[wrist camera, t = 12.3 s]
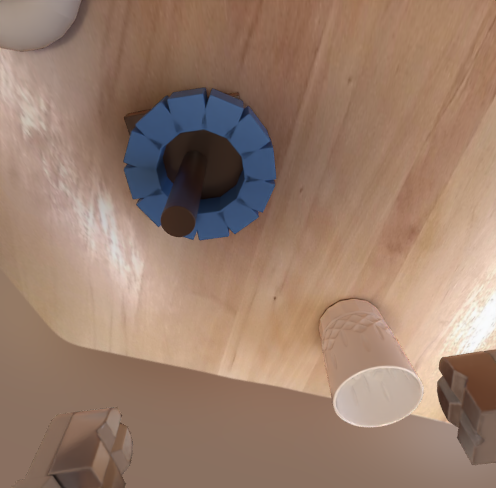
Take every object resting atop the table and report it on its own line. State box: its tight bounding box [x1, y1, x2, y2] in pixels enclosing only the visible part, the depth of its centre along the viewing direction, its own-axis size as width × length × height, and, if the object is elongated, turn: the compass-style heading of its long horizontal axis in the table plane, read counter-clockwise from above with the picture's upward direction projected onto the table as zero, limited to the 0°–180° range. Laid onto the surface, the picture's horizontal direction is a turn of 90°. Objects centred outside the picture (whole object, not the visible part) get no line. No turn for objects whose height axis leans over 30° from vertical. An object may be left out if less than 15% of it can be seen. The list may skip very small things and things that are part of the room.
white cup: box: [319, 299, 424, 427], centre depth 39 cm, size 8×8×10 cm
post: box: [124, 92, 243, 237], centre depth 28 cm, size 9×9×12 cm
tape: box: [124, 88, 276, 240], centre depth 31 cm, size 11×11×3 cm
